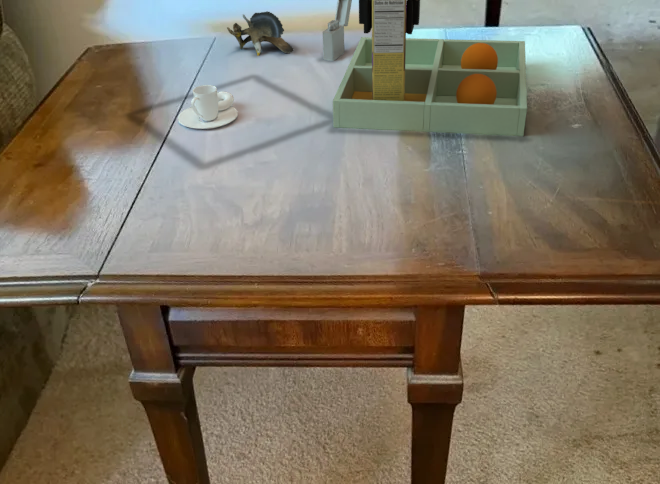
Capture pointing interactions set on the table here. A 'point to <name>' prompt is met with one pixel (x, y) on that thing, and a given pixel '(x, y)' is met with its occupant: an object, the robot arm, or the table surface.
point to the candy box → (388, 49)
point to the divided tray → (435, 91)
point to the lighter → (336, 32)
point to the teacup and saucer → (208, 108)
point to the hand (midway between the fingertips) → (389, 28)
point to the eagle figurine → (262, 32)
